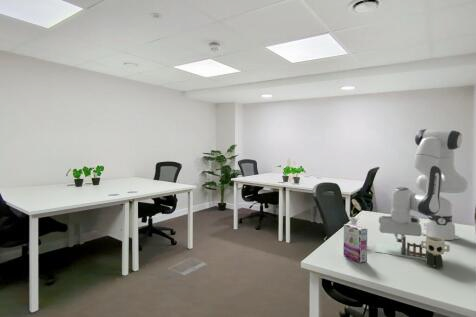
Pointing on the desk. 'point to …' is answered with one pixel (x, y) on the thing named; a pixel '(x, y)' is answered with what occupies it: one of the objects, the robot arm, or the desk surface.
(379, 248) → the card
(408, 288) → the desk surface
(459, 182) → the robot arm
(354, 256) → the candy bar box
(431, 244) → the character mug
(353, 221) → the flower in vase
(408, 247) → the fence panel with post
